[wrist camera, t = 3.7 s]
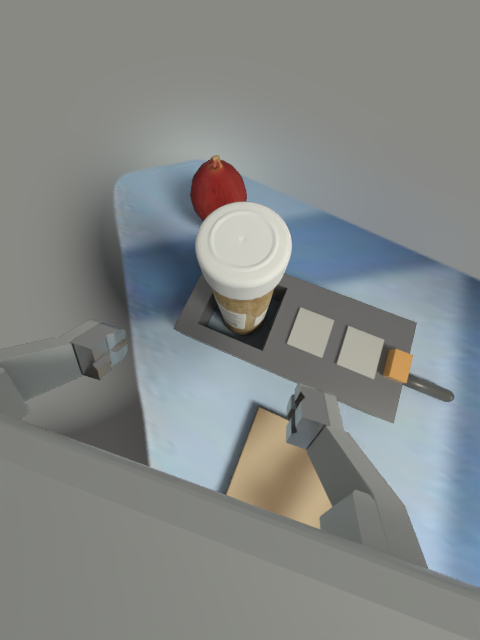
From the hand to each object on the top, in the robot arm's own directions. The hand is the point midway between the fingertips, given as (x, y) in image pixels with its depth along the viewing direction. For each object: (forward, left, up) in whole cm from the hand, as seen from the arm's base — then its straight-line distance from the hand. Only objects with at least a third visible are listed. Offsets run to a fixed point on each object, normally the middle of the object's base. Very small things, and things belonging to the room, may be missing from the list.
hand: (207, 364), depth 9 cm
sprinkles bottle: (+1, -6, -12) cm, 14 cm away
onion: (+8, -16, -12) cm, 21 cm away
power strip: (-8, -6, -12) cm, 15 cm away
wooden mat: (-9, +7, -12) cm, 17 cm away
